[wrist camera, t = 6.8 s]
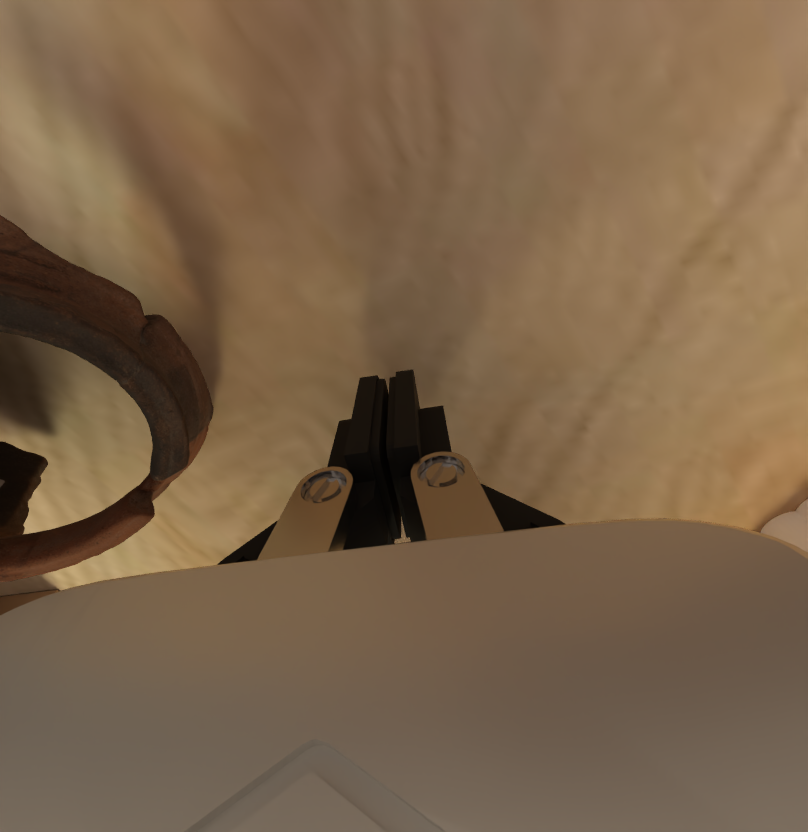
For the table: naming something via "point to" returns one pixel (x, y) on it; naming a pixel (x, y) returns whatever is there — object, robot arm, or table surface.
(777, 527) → the mooncake
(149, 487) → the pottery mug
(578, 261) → the table surface
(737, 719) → the robot arm
